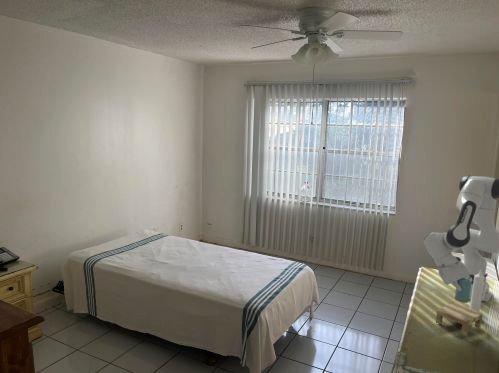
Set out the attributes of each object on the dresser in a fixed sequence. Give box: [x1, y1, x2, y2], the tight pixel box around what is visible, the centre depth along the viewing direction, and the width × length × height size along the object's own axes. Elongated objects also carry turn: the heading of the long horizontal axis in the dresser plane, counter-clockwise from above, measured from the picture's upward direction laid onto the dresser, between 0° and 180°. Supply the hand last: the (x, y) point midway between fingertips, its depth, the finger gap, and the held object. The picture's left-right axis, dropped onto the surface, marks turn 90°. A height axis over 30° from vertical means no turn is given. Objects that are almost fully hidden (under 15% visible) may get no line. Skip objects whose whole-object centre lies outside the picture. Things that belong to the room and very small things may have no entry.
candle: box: [469, 270, 485, 313], centre depth 195 cm, size 7×7×25 cm
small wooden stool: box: [435, 302, 483, 337], centre depth 186 cm, size 16×14×7 cm
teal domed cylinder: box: [454, 278, 472, 304], centre depth 183 cm, size 6×6×10 cm
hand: (464, 288), depth 183 cm, fingers closed on teal domed cylinder, 6 cm apart
